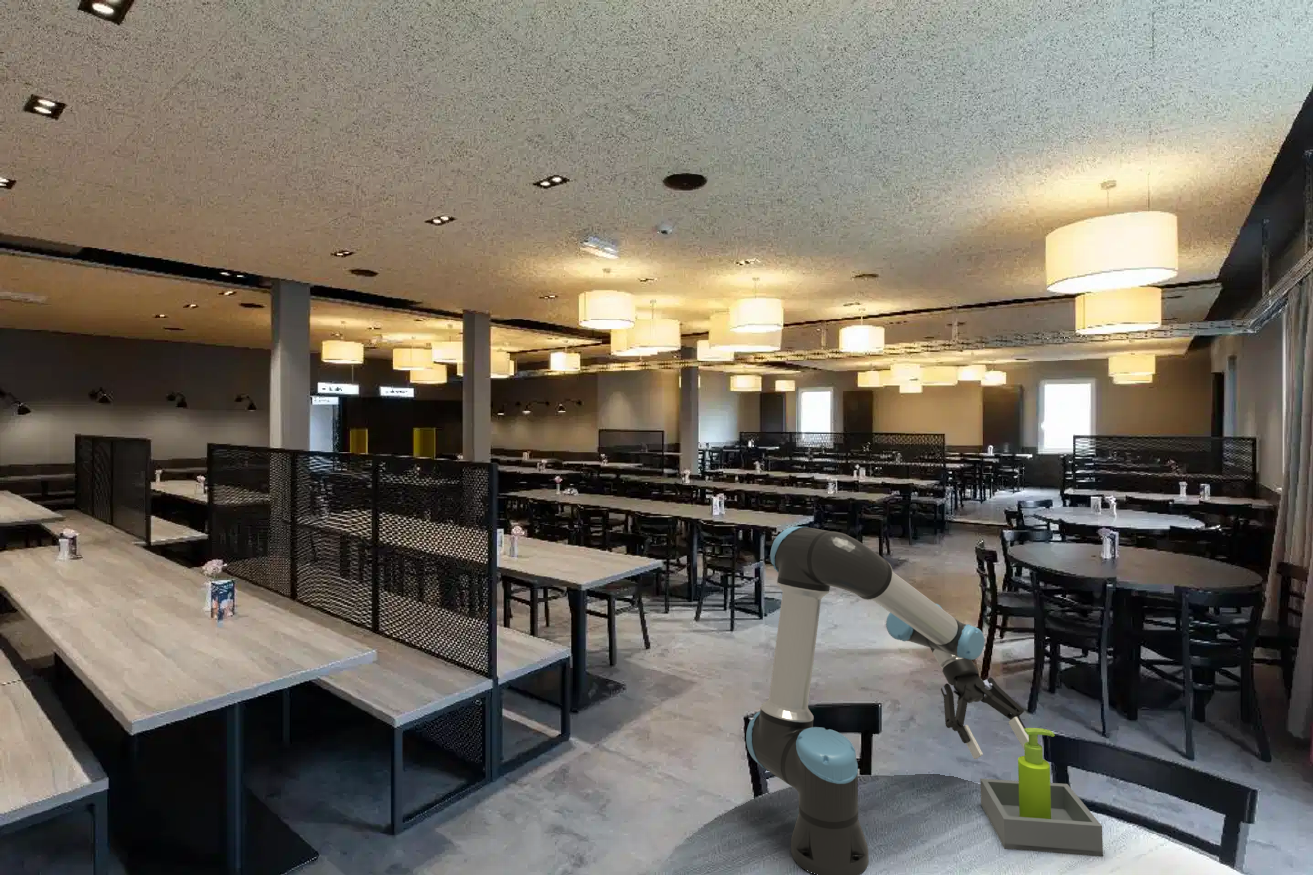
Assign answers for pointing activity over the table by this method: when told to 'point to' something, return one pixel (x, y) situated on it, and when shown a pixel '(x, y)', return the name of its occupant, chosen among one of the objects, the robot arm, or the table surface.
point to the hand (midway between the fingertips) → (1004, 752)
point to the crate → (1042, 820)
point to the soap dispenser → (1034, 778)
